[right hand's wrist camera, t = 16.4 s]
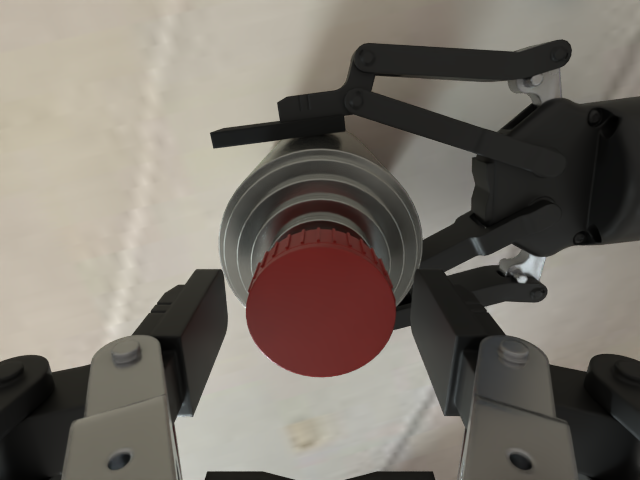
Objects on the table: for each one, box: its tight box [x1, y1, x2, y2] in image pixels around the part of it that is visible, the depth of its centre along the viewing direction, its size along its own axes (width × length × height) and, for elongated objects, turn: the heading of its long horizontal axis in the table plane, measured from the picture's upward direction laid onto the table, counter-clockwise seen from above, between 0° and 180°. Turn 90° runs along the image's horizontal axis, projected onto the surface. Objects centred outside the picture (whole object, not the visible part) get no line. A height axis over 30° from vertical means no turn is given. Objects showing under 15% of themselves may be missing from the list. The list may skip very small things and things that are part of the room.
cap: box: [246, 227, 396, 377], centre depth 11 cm, size 4×4×2 cm
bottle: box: [219, 131, 423, 307], centre depth 19 cm, size 8×8×17 cm
